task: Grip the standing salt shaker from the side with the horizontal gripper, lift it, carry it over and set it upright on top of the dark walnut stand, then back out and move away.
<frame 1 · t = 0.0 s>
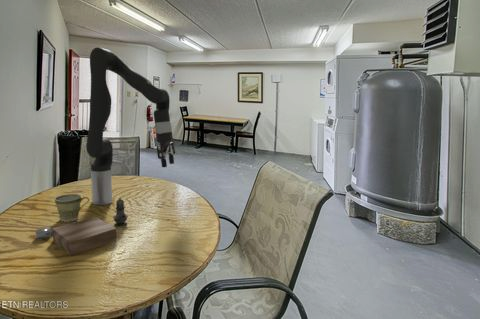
hand: (168, 165, 144), 22 cm above the table, tool pointing down, fingers open, 8 cm apart
salt shaker: (120, 224, 128), on the table
grey metal puck: (44, 237, 114), on the table
walnut stand: (85, 240, 112), on the table
ceramic cup: (73, 219, 132), on the table
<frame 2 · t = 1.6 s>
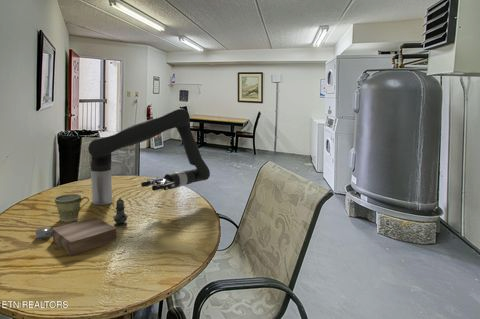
hand: (147, 186, 136), 14 cm above the table, tool horizontal, fingers open, 8 cm apart
nothing on the table moved.
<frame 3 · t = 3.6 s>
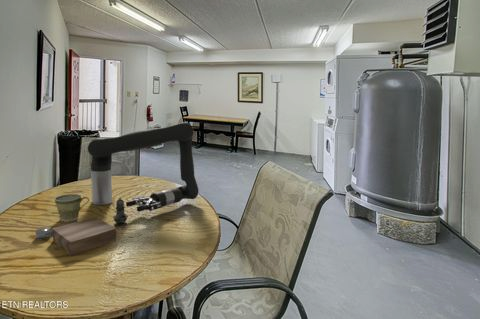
hand: (131, 206, 131), 7 cm above the table, tool horizontal, fingers open, 8 cm apart
nothing on the table moved.
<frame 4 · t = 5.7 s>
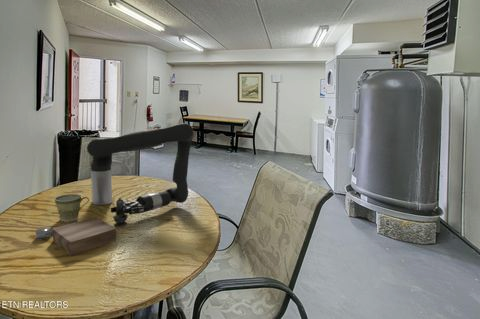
hand: (114, 211, 125), 7 cm above the table, tool horizontal, fingers closed on salt shaker, 3 cm apart
salt shaker: (120, 224, 128), on the table, touching gripper
everything else where it was.
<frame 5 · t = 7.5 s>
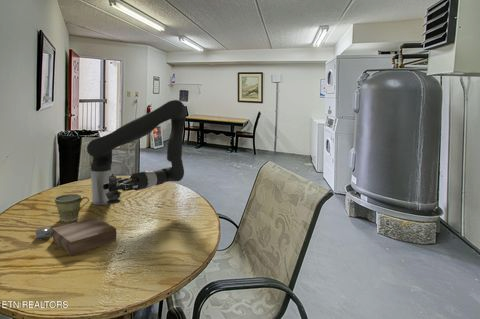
hand: (106, 187, 119), 18 cm above the table, tool horizontal, fingers closed on salt shaker, 3 cm apart
salt shaker: (113, 202, 123), point 11 cm above the table, touching gripper
everything else where it was.
when the fingers open (13 cm above the table, at t = 9.5 s): salt shaker drops 1 cm, resting on walnut stand.
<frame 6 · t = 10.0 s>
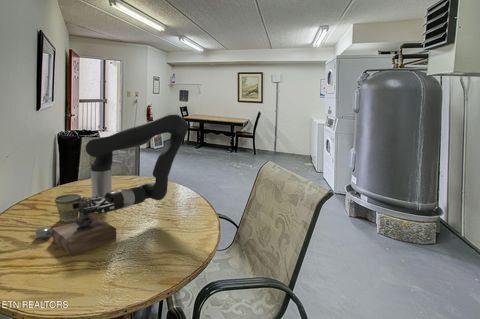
hand: (77, 209, 108), 13 cm above the table, tool horizontal, fingers open, 8 cm apart
salt shaker: (84, 228, 112), point 5 cm above the table, touching walnut stand
everything else where it was.
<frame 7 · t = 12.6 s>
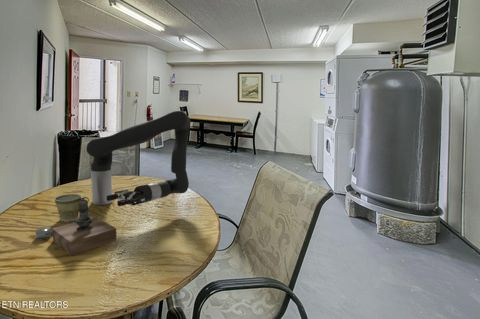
hand: (112, 201, 118), 13 cm above the table, tool horizontal, fingers open, 8 cm apart
nothing on the table moved.
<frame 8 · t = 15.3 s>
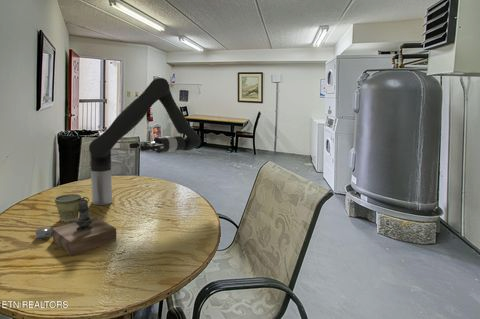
hand: (135, 147, 133), 32 cm above the table, tool horizontal, fingers open, 8 cm apart
nothing on the table moved.
at the end: salt shaker inside the target area on the walnut stand (0.1 cm from its centre), point 4.8 cm above the walnut stand's base; salt shaker tilted 0°; the gripper is holding nothing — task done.
